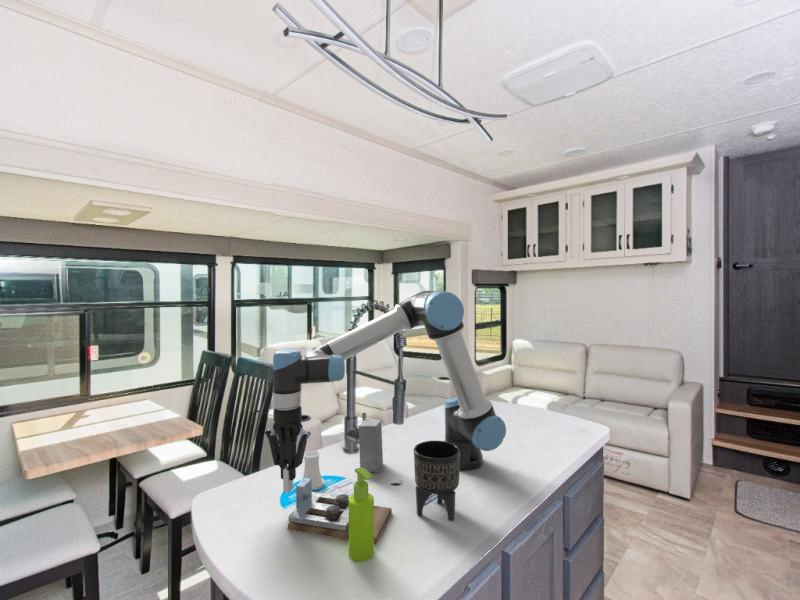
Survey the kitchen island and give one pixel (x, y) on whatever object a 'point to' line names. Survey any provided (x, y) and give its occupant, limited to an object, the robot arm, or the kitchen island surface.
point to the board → (379, 518)
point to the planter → (436, 473)
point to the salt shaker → (313, 469)
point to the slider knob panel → (316, 508)
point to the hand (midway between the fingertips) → (288, 490)
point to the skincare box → (370, 445)
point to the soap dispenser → (361, 519)
